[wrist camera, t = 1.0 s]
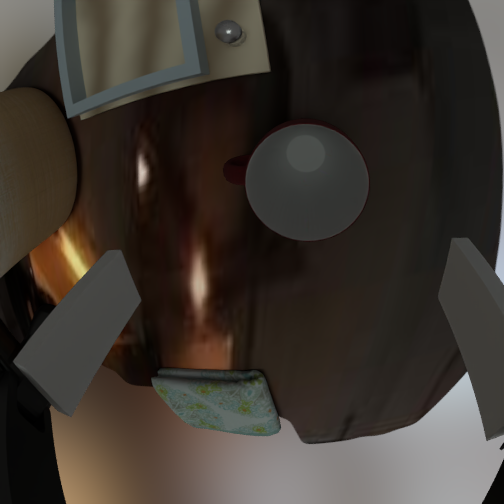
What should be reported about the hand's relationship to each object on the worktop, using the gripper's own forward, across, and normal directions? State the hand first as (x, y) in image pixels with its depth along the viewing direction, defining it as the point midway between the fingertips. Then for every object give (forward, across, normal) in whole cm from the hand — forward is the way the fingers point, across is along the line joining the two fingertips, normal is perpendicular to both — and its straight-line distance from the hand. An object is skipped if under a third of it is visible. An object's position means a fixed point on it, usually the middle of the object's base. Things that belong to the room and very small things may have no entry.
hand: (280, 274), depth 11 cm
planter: (+19, -35, +6) cm, 41 cm away
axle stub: (+18, -4, +12) cm, 22 cm away
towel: (+19, -16, -42) cm, 49 cm away
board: (+19, -12, +17) cm, 28 cm away
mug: (+19, 0, 0) cm, 19 cm away
